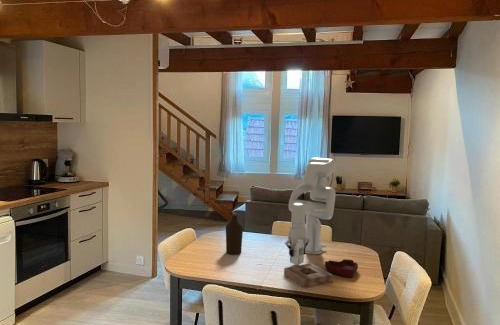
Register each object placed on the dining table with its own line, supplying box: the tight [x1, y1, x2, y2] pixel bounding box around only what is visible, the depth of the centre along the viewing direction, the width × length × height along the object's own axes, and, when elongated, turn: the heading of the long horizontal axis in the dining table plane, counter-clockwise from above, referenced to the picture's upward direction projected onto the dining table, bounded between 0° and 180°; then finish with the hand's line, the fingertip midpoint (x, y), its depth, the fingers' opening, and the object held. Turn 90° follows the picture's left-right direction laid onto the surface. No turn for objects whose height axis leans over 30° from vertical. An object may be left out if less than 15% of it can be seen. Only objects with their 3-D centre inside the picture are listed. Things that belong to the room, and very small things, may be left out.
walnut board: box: [283, 262, 334, 289], centre depth 205 cm, size 18×18×4 cm
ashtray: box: [324, 258, 359, 279], centre depth 214 cm, size 18×16×5 cm
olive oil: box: [225, 212, 244, 256], centre depth 242 cm, size 11×11×25 cm
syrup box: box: [289, 240, 305, 266], centre depth 223 cm, size 6×6×14 cm
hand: (297, 254), depth 223 cm, fingers closed on syrup box, 7 cm apart
